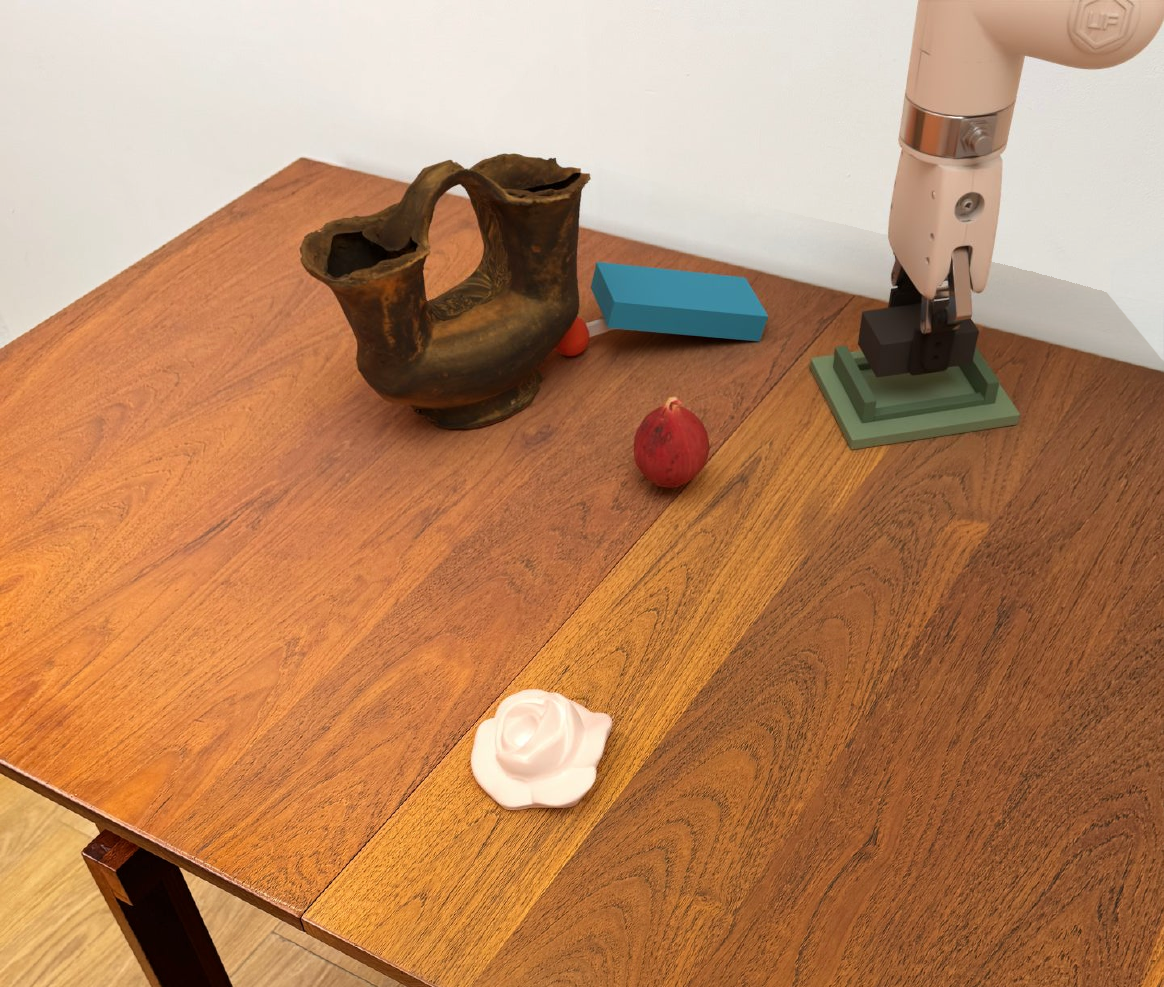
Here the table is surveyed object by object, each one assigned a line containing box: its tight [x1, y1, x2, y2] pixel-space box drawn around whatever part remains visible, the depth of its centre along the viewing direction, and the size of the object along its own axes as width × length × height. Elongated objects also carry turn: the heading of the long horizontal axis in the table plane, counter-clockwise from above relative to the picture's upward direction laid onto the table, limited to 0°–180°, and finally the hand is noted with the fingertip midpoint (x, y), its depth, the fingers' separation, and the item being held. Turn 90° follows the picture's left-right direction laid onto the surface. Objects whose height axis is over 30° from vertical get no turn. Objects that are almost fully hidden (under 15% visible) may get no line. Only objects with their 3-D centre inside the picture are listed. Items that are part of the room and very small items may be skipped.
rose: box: [470, 688, 613, 811], centre depth 81 cm, size 10×4×10 cm
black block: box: [857, 298, 980, 377], centre depth 101 cm, size 8×5×3 cm, turn 99°
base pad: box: [809, 344, 1021, 451], centre depth 104 cm, size 14×12×3 cm
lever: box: [555, 261, 769, 357], centre depth 112 cm, size 7×7×18 cm
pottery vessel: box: [299, 153, 591, 430], centre depth 101 cm, size 25×11×20 cm, turn 129°
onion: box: [633, 395, 711, 489], centre depth 96 cm, size 6×6×8 cm
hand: (915, 349), depth 102 cm, fingers closed on black block, 5 cm apart
